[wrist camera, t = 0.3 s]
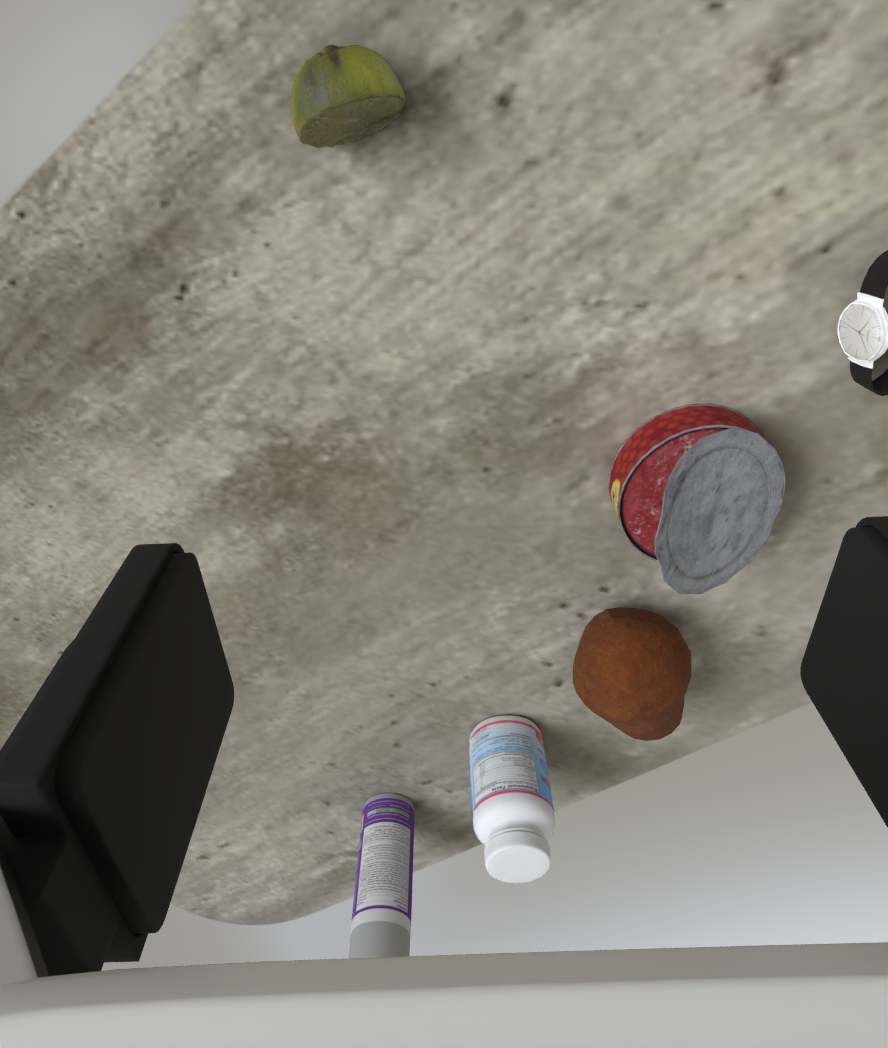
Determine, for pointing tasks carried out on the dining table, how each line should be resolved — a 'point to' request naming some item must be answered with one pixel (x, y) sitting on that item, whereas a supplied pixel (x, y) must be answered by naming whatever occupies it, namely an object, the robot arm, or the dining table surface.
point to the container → (384, 879)
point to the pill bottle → (511, 798)
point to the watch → (867, 328)
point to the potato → (633, 671)
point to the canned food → (697, 493)
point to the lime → (344, 96)
